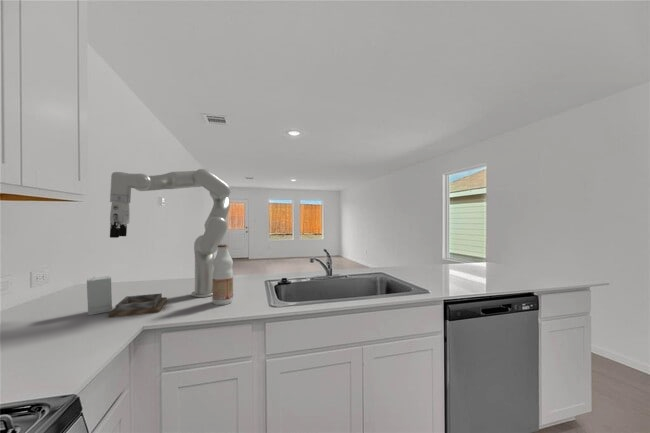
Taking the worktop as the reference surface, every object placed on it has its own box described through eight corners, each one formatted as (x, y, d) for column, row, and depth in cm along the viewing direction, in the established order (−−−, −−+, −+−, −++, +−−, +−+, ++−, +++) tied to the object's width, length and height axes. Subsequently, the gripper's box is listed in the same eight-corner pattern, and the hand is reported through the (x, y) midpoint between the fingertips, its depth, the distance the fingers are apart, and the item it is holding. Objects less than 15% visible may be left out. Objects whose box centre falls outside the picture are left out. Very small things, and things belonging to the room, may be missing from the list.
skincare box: (111, 308, 124) (111, 275, 124) (112, 311, 119) (112, 277, 119) (87, 312, 119) (87, 277, 119) (86, 316, 114) (86, 280, 114)
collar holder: (166, 300, 136) (166, 292, 136) (159, 312, 119) (159, 302, 119) (123, 304, 130) (123, 295, 130) (108, 317, 113) (108, 307, 113)
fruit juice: (216, 306, 127) (216, 246, 127) (209, 301, 134) (210, 244, 134) (236, 302, 133) (236, 244, 133) (228, 298, 140) (229, 243, 140)
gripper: (123, 198, 119) (121, 238, 119) (135, 201, 135) (134, 235, 135) (102, 197, 116) (100, 238, 116) (117, 200, 133) (115, 235, 132)
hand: (118, 236), depth 125 cm, fingers open, 9 cm apart
